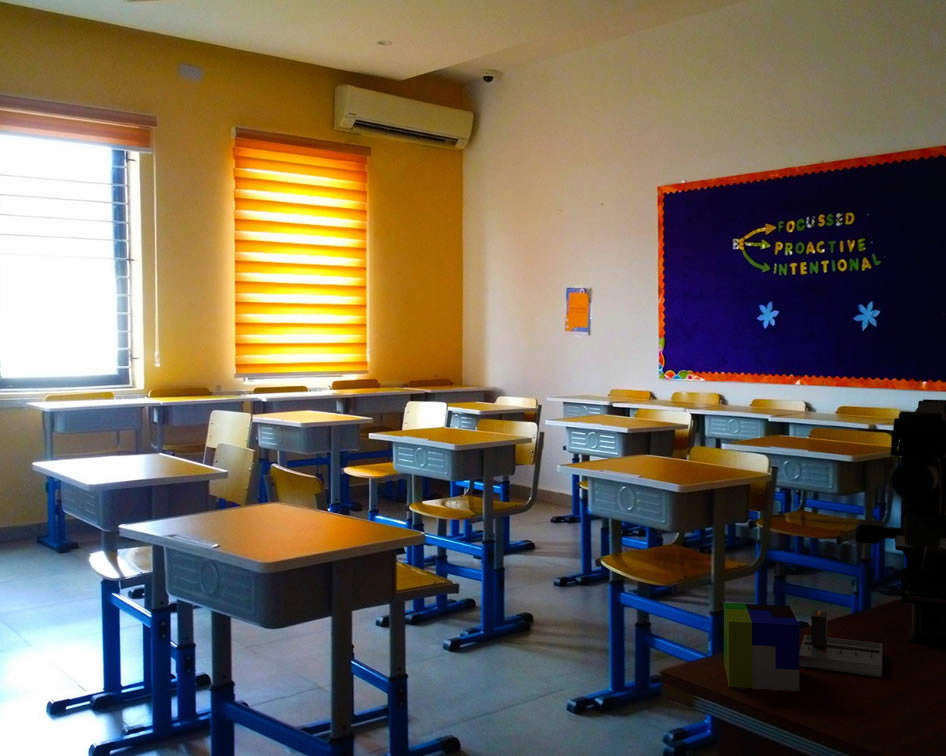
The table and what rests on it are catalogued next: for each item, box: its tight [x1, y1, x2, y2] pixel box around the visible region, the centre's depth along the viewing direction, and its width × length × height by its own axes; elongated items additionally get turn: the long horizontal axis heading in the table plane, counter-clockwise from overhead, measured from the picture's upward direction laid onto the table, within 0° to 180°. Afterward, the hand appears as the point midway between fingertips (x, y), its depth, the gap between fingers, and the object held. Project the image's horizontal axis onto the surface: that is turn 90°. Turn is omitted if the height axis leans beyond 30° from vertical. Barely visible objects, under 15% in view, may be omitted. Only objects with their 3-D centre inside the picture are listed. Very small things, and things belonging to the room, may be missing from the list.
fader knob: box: [810, 610, 828, 647], centre depth 147 cm, size 3×2×5 cm
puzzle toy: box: [723, 602, 800, 692], centre depth 138 cm, size 10×10×10 cm
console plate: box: [799, 634, 883, 678], centre depth 145 cm, size 11×12×2 cm
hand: (920, 589), depth 143 cm, fingers closed
